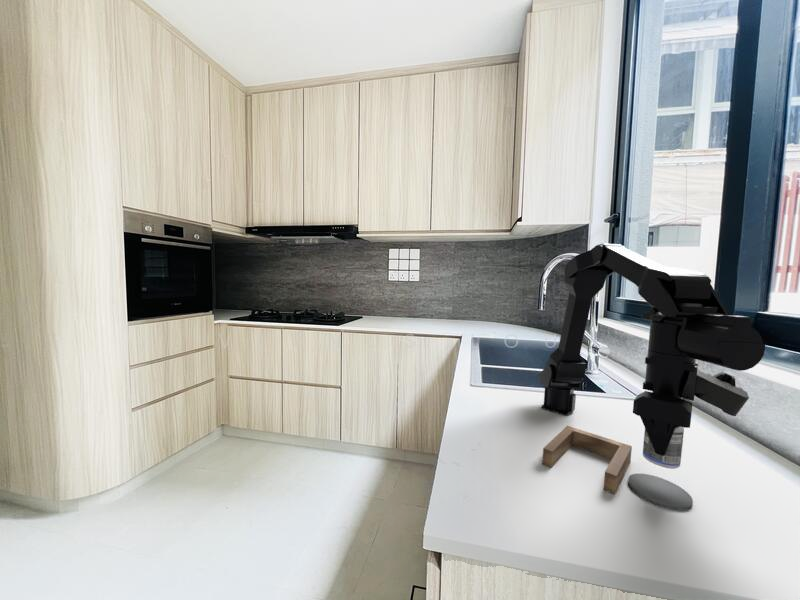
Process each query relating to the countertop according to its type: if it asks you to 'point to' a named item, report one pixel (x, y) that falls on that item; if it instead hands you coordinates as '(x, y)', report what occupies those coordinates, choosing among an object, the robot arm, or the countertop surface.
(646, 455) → the pill bottle
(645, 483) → the coaster
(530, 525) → the countertop surface
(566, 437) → the nook
